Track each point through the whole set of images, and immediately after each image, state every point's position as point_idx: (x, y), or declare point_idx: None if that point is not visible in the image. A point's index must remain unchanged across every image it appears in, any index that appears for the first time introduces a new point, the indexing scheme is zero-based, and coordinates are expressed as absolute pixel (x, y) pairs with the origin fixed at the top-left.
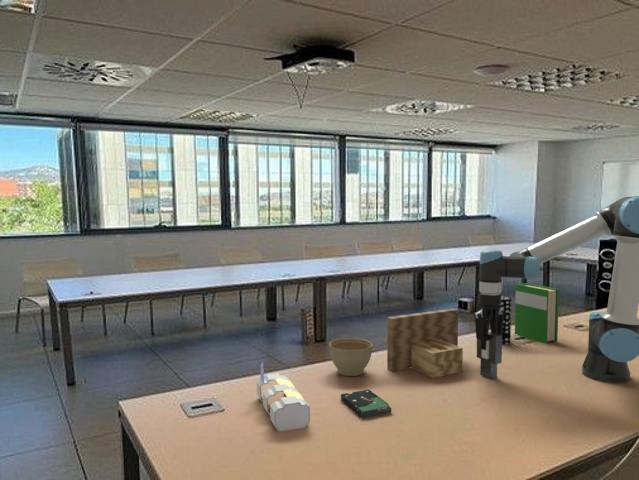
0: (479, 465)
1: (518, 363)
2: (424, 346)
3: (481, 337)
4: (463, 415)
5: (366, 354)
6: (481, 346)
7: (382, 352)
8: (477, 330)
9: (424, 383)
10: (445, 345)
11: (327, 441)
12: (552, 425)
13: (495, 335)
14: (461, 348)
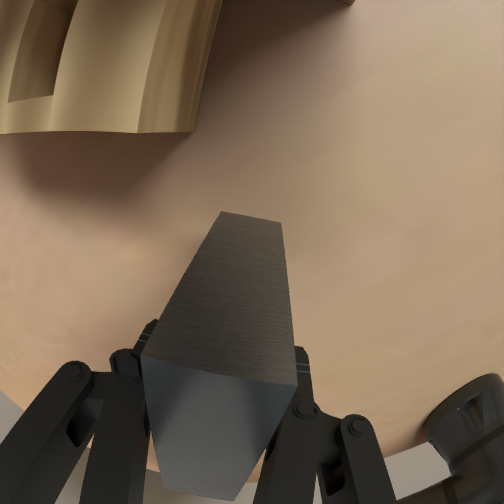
0: (3, 387)
1: (480, 245)
2: (13, 9)
3: (75, 416)
4: (14, 337)
5: None
6: (142, 339)
7: None
8: (28, 433)
9: (8, 156)
10: (96, 16)
11: None
12: None
13: (182, 487)
14: (125, 131)
